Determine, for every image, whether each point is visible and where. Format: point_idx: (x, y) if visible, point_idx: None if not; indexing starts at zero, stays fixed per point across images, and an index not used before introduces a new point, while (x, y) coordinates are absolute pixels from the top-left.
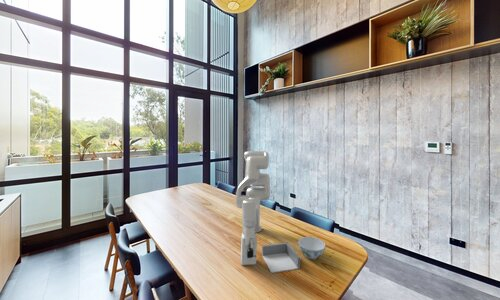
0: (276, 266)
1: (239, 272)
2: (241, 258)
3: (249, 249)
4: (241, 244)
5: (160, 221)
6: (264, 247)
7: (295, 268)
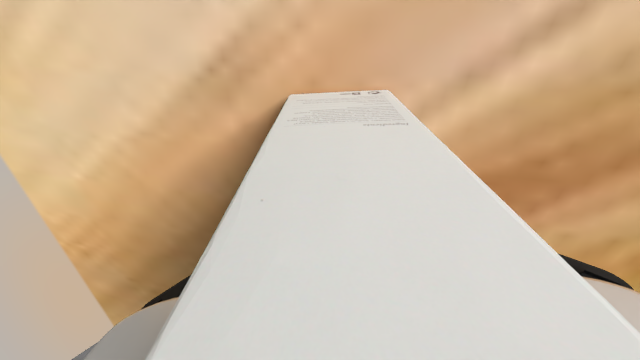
0: None
1: (191, 69)
2: (306, 105)
3: (157, 298)
4: (404, 171)
5: None
6: None
7: None
